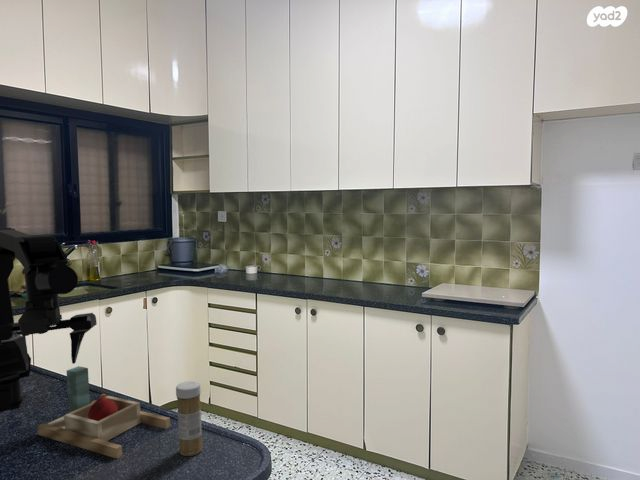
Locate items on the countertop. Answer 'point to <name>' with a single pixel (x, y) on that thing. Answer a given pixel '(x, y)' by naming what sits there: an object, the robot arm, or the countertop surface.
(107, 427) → the wooden open tray
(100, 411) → the onion
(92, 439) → the guide rails
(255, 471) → the countertop surface
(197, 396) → the sprinkles bottle
